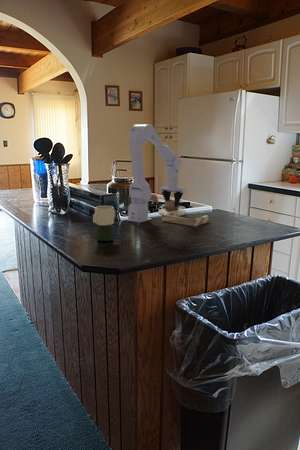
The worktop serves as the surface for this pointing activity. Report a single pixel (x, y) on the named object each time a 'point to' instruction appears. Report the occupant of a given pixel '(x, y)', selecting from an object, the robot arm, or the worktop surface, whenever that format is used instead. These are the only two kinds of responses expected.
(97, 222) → the character mug
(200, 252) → the worktop surface
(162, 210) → the ceramic plate
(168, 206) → the walnut block
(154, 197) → the lion figurine
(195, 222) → the wooden u-shaped frame
